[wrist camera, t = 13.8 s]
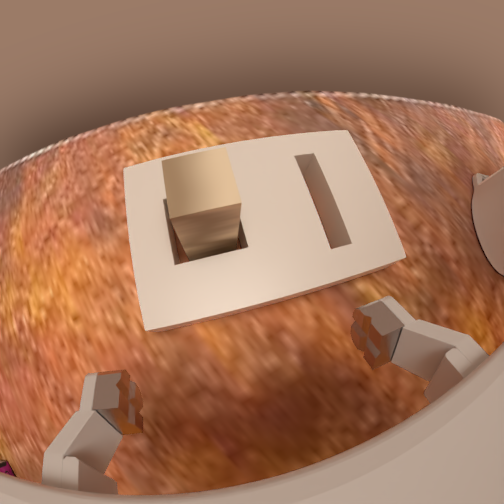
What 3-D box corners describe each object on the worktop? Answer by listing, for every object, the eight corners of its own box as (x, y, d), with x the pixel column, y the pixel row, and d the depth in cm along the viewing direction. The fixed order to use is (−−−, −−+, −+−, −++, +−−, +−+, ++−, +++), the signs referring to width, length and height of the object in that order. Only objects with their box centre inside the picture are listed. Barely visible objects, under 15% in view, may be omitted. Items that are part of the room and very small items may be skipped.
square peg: (225, 214, 26) (225, 147, 16) (235, 254, 25) (241, 202, 15) (183, 224, 25) (161, 160, 15) (191, 265, 24) (169, 218, 14)
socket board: (335, 152, 29) (347, 130, 25) (384, 268, 25) (406, 257, 22) (135, 190, 26) (123, 168, 22) (158, 331, 22) (145, 330, 18)
